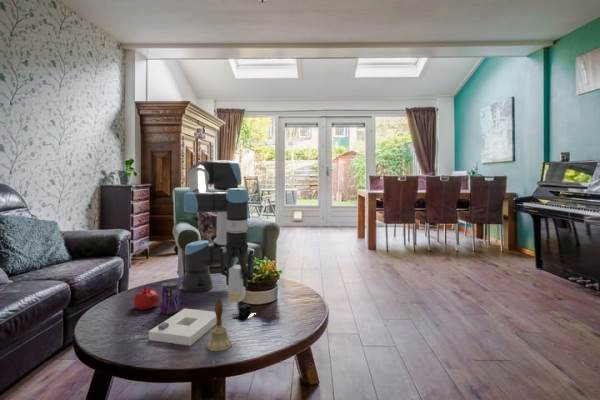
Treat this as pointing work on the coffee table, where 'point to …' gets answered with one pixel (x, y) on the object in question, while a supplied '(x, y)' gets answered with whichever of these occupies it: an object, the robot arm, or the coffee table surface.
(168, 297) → the beverage can
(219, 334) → the hand bell
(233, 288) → the plug
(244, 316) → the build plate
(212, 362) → the coffee table surface
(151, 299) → the pomegranate
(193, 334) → the socket plate
